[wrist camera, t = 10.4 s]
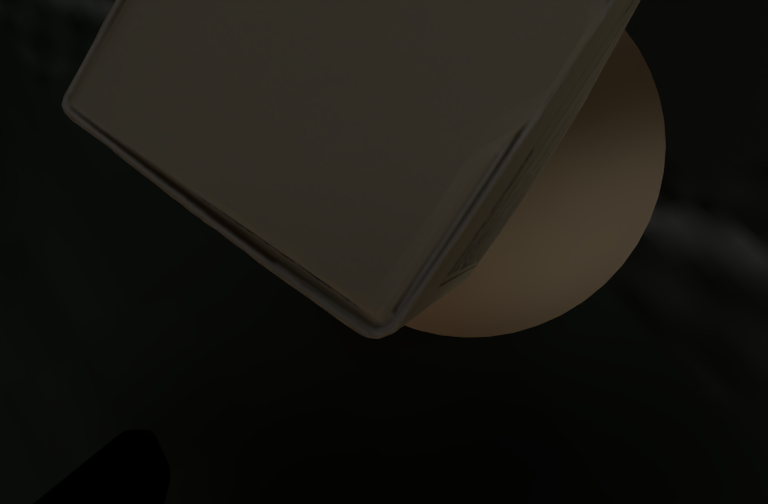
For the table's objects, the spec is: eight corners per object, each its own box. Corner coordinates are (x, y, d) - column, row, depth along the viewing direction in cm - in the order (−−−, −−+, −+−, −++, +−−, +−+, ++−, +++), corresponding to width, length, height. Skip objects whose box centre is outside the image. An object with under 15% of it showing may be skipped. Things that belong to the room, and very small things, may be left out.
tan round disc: (680, 283, 20) (712, 286, 17) (356, 359, 21) (333, 374, 18) (590, -38, 20) (606, -90, 17) (283, 60, 22) (250, 28, 19)
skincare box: (457, 16, 18) (378, -488, 6) (592, 97, 17) (812, -288, 5) (331, 210, 18) (26, 104, 6) (459, 296, 18) (380, 357, 6)
